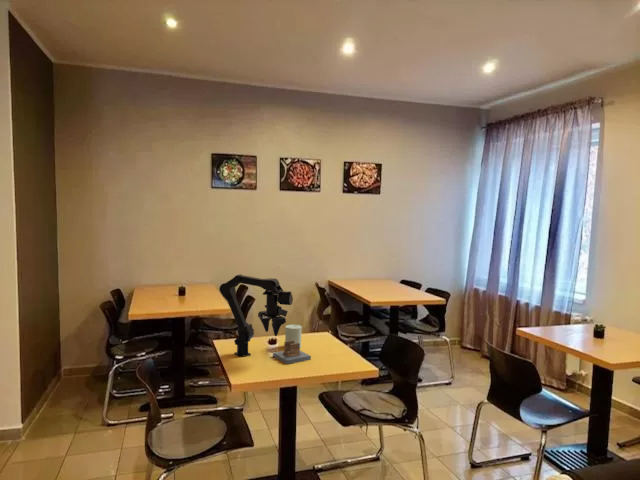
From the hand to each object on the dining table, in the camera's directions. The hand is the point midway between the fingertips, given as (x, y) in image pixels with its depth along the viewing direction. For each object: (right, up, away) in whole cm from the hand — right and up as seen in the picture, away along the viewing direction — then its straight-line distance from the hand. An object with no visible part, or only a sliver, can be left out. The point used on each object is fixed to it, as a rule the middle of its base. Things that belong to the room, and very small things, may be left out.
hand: (271, 333), depth 232 cm
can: (+10, -12, +21) cm, 26 cm away
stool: (+10, -11, +1) cm, 15 cm away
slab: (+10, -13, +1) cm, 17 cm away
